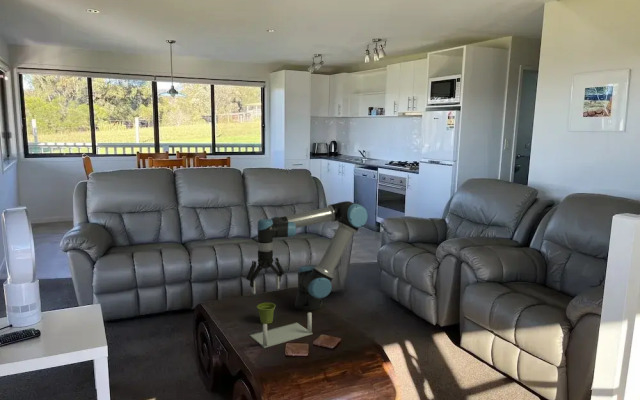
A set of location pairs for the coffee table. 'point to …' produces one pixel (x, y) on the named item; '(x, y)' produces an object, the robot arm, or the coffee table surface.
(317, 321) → the coffee table surface
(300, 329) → the mat
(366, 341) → the coffee table surface
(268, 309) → the plant pot
